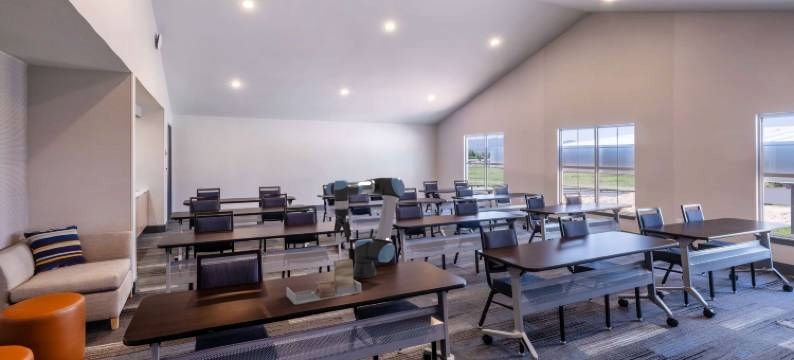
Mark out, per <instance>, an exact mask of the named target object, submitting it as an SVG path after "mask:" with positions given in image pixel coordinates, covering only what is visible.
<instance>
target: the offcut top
mask: <svg viewBox="0 0 794 360" xmlns="http://www.w3.org/2000/svg"><path fill="white" fill-rule="evenodd" d="M315 286H317V288H318V289H319V290H322V289H329V288H331V286H332V284H331V283H330V282H329V281H328V280H320V281H315Z"/></svg>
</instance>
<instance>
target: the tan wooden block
mask: <svg viewBox="0 0 794 360" xmlns="http://www.w3.org/2000/svg"><path fill="white" fill-rule="evenodd" d="M353 269H354V262H353V259H351V258H347V259H341V260H334V261H333V282H334V283H333V286H334V288H336V289H337V288H343V287H349V286H353V279H354V277H353Z"/></svg>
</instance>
